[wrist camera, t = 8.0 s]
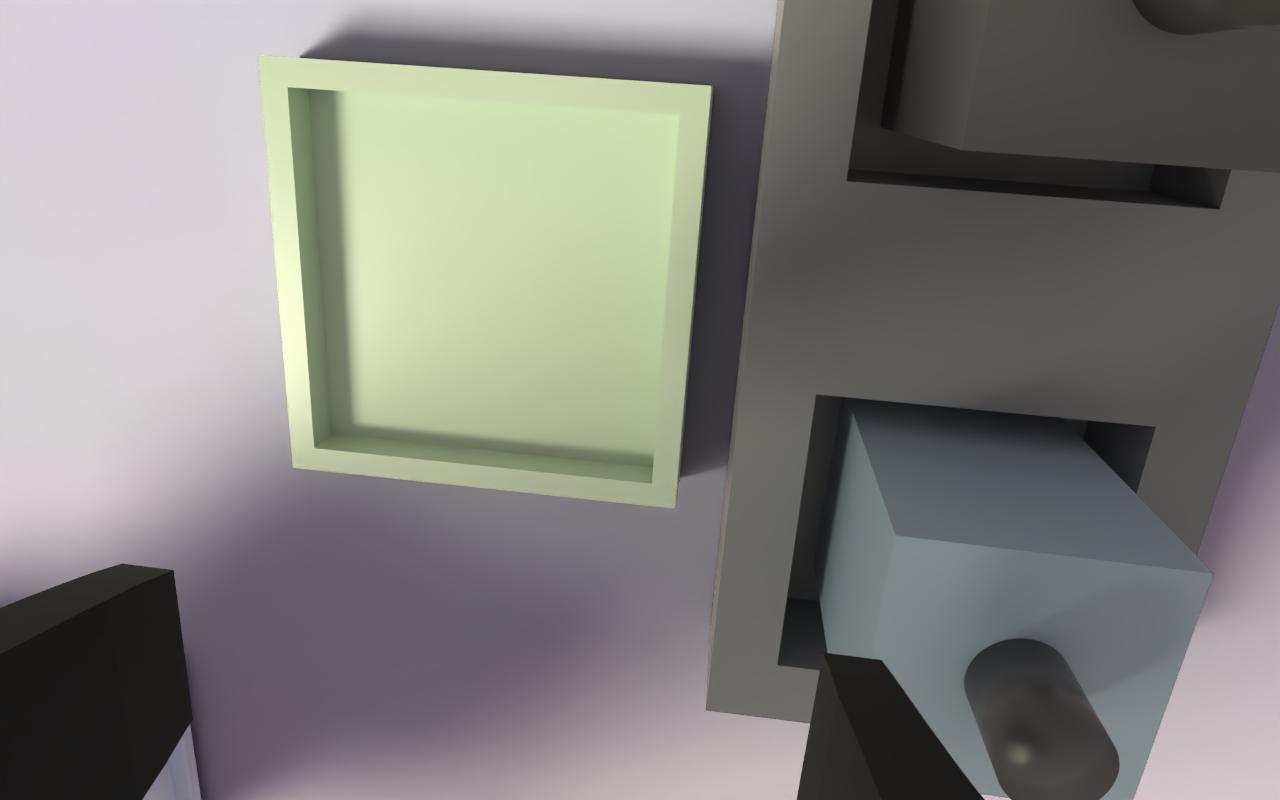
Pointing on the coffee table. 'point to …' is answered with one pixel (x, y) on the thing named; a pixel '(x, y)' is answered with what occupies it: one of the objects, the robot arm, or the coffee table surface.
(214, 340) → the coffee table surface
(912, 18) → the twin plug
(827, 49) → the power strip
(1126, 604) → the plug
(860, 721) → the robot arm
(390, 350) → the tray
